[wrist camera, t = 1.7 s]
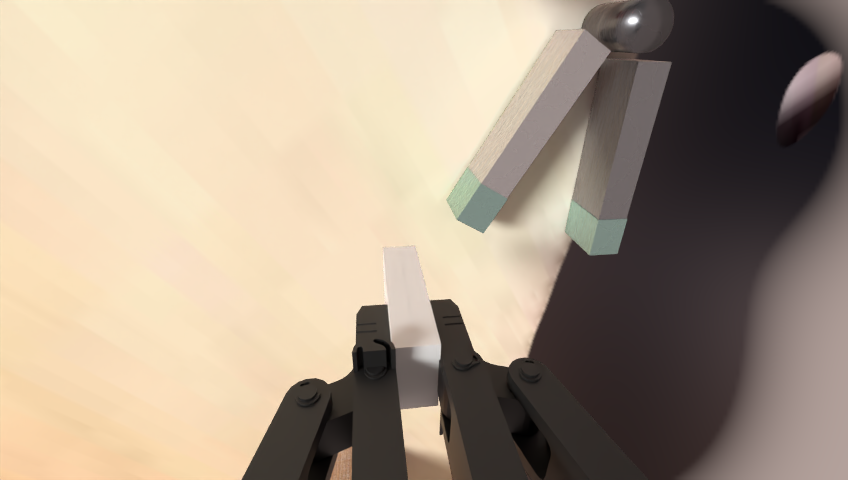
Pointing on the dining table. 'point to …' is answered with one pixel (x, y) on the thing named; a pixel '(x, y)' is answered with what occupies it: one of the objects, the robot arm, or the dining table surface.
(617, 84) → the base
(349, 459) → the planter
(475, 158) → the tong arm
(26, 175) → the dining table surface
